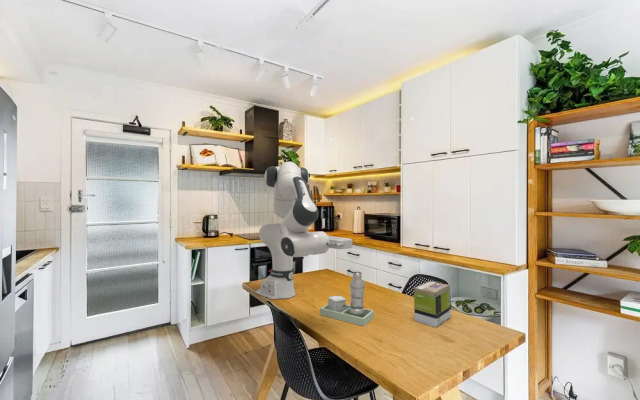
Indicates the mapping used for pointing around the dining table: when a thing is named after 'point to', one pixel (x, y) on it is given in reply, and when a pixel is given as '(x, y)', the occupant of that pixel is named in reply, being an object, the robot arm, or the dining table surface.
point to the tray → (346, 317)
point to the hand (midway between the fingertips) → (342, 239)
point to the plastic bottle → (357, 295)
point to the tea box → (432, 303)
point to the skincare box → (336, 303)
